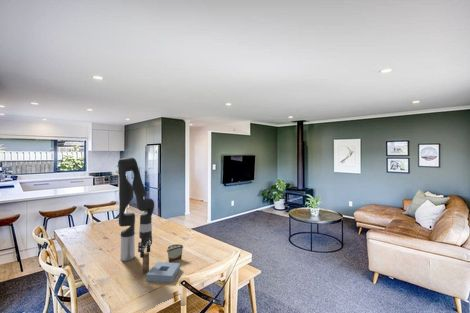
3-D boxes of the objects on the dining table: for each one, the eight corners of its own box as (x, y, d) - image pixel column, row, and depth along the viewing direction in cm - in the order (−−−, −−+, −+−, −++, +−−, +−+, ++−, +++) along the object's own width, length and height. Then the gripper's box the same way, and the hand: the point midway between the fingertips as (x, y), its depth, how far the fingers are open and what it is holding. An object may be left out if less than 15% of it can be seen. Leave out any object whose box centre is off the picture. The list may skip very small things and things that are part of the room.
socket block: (156, 267, 157) (157, 261, 157) (180, 269, 156) (180, 263, 156) (146, 280, 141) (146, 274, 141) (171, 282, 140) (171, 275, 140)
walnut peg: (144, 270, 153) (144, 252, 153) (150, 270, 153) (150, 252, 153) (141, 273, 149) (141, 254, 149) (147, 273, 149) (147, 255, 149)
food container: (179, 255, 176) (179, 242, 175) (183, 258, 171) (183, 245, 171) (163, 260, 167) (163, 246, 167) (167, 263, 163) (167, 249, 163)
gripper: (145, 226, 158) (145, 250, 158) (134, 233, 144) (134, 259, 144) (155, 226, 157) (155, 250, 157) (146, 233, 143) (145, 260, 143)
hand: (145, 254), depth 151 cm, fingers open, 8 cm apart
